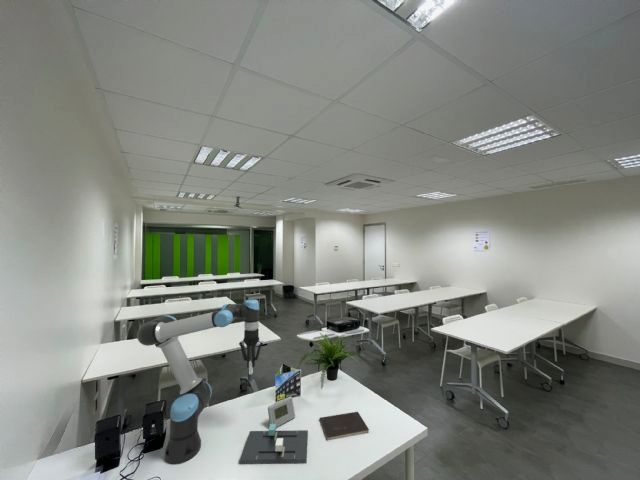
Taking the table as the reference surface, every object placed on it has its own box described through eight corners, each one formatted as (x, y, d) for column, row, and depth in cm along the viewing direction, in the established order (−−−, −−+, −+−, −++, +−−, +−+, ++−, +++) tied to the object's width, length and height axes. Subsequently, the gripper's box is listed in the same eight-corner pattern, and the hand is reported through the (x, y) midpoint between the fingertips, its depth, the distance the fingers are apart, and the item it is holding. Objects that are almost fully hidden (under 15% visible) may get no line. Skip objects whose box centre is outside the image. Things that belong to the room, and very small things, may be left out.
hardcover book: (369, 434, 131) (369, 429, 131) (326, 441, 125) (326, 437, 126) (357, 415, 146) (357, 410, 147) (319, 421, 141) (319, 416, 141)
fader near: (275, 455, 114) (275, 445, 114) (276, 447, 118) (276, 438, 118) (281, 454, 114) (282, 445, 114) (283, 447, 118) (283, 438, 118)
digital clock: (270, 431, 132) (270, 410, 133) (264, 421, 140) (265, 402, 140) (298, 421, 140) (298, 401, 141) (291, 412, 148) (291, 393, 149)
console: (239, 464, 111) (239, 459, 112) (250, 435, 129) (250, 430, 130) (306, 463, 112) (306, 458, 112) (307, 434, 130) (307, 430, 130)
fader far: (268, 438, 124) (268, 430, 124) (270, 432, 128) (270, 423, 128) (274, 438, 124) (274, 429, 124) (275, 432, 128) (275, 423, 128)
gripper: (237, 331, 132) (236, 376, 131) (262, 330, 133) (261, 376, 131) (241, 326, 140) (240, 370, 139) (264, 326, 140) (264, 369, 139)
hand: (250, 373), depth 135 cm, fingers closed
